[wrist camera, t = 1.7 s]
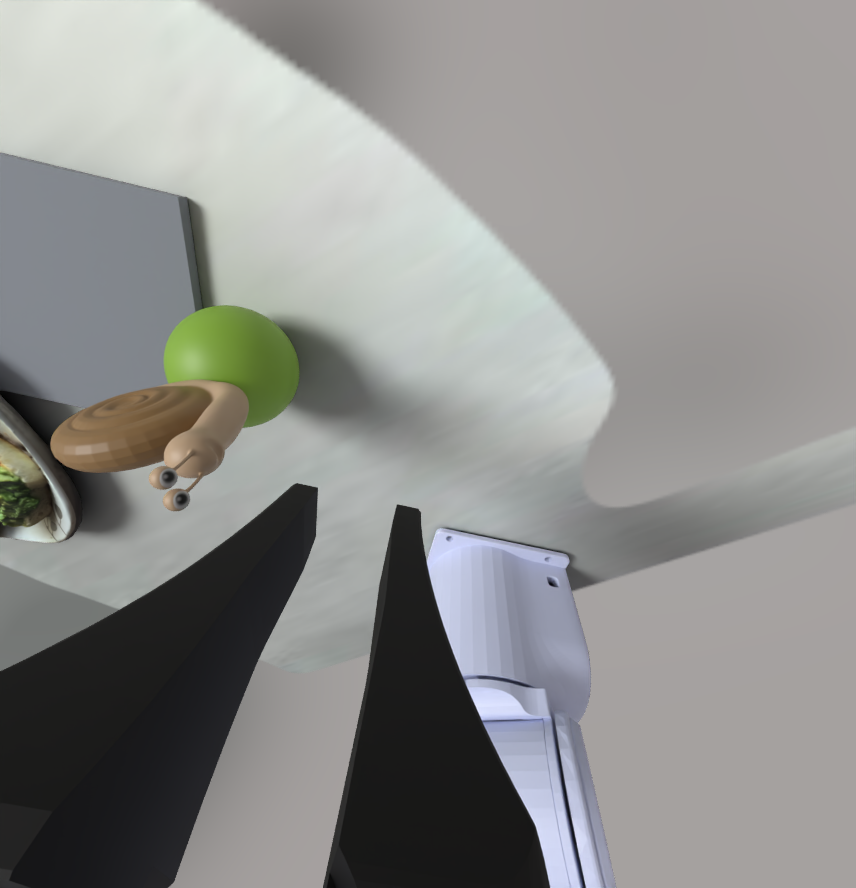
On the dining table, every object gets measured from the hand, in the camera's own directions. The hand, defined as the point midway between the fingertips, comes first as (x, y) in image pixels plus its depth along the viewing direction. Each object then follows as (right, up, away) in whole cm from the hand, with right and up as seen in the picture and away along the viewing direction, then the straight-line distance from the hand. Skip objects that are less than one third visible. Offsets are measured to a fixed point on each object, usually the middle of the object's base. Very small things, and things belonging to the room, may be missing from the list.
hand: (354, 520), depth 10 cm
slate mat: (-17, +10, +8) cm, 21 cm away
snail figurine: (-6, +7, +9) cm, 13 cm away
